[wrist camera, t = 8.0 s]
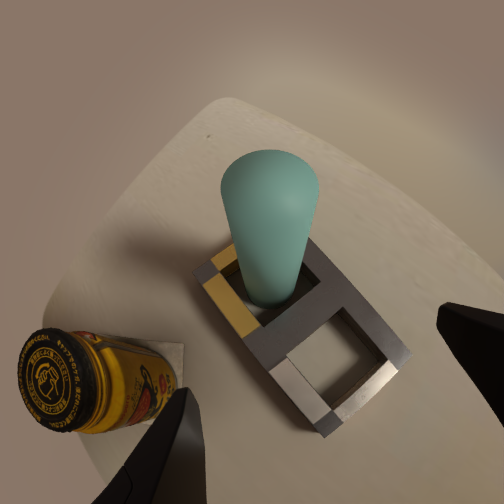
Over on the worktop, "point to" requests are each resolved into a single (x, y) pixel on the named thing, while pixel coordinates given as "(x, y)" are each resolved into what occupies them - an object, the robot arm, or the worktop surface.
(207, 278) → the socket plate
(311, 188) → the plug
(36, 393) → the condiment
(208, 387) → the worktop surface
